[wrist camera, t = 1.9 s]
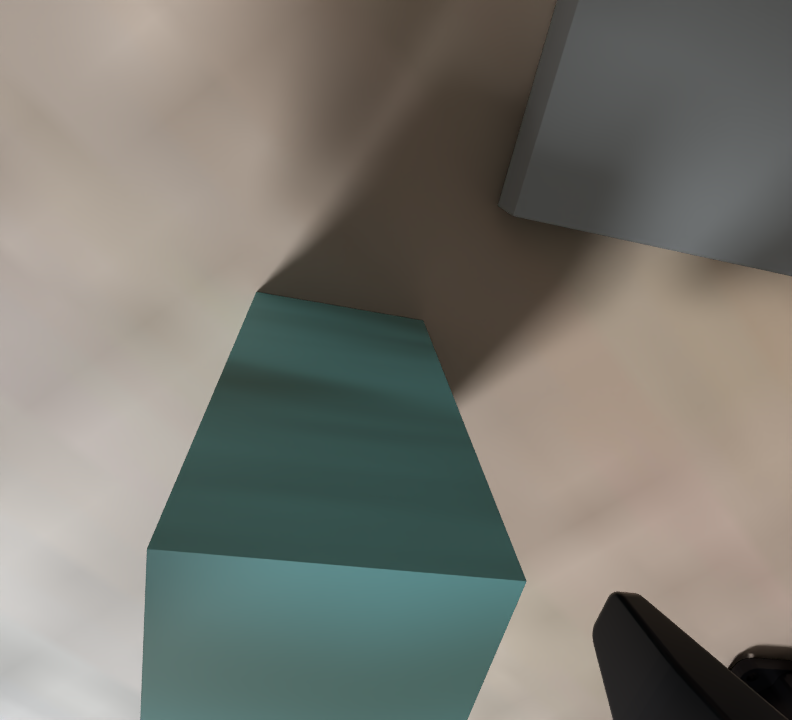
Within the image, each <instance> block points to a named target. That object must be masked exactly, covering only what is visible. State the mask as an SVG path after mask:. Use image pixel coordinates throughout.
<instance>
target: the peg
mask: <svg viewBox="0 0 792 720" xmlns="http://www.w3.org/2000/svg"><path fill="white" fill-rule="evenodd" d="M525 584H526V579H525V576H524V574H523V571H522V569H521V566H520V564H519V561H518V559H517V556H516V554H515V551H514V549H513V546H512V544H511V541H510V538H509V536H508V533H507V531H506V528H505V526H504V523H503V521H502V518H501V516H500V513H499V511H498V508H497V506H496V503H495V501H494V498H493V496H492V493H491V491H490V488H489V485H488V483H487V480H486V478H485V475H484V473H483V470H482V468H481V465H480V463H479V460H478V458H477V455H476V453H475V450H474V448H473V445H472V443H471V440H470V438H469V435H468V432H467V430H466V427H465V425H464V422H463V420H462V417H461V415H460V412H459V410H458V407H457V405H456V402H455V400H454V397H453V395H452V392H451V390H450V387H449V385H448V382H447V379H446V377H445V374H444V372H443V369H442V367H441V364H440V362H439V359H438V357H437V354H436V352H435V349H434V347H433V344H432V342H431V339H430V337H429V334H428V332H427V329H426V326H425V324H424V321H423V320H417V319H411V318H405V317H399V316H394V315H388V314H382V313H376V312H370V311H365V310H359V309H353V308H347V307H341V306H336V305H330V304H324V303H318V302H312V301H307V300H301V299H295V298H289V297H283V296H278V295H272V294H266V293H260V292H256V294H255V297H254V299H253V301H252V304H251V306H250V308H249V311H248V313H247V315H246V318H245V320H244V322H243V325H242V327H241V329H240V332H239V334H238V336H237V339H236V341H235V344H234V346H233V348H232V351H231V353H230V355H229V358H228V360H227V362H226V365H225V367H224V369H223V372H222V374H221V376H220V379H219V381H218V383H217V386H216V388H215V390H214V393H213V395H212V398H211V400H210V402H209V405H208V407H207V409H206V412H205V414H204V416H203V419H202V421H201V423H200V426H199V428H198V430H197V433H196V435H195V437H194V440H193V442H192V444H191V447H190V449H189V452H188V454H187V456H186V459H185V461H184V463H183V466H182V468H181V470H180V473H179V475H178V477H177V480H176V482H175V484H174V487H173V489H172V491H171V494H170V496H169V498H168V501H167V503H166V506H165V508H164V510H163V513H162V515H161V517H160V520H159V522H158V524H157V527H156V529H155V531H154V534H153V536H152V538H151V541H150V543H149V545H148V548H147V562H146V588H145V614H144V640H143V665H142V691H141V717H140V720H467V719H468V717H469V714H470V712H471V710H472V707H473V705H474V703H475V700H476V698H477V696H478V693H479V691H480V689H481V686H482V684H483V682H484V679H485V677H486V675H487V672H488V670H489V668H490V665H491V663H492V661H493V658H494V656H495V654H496V651H497V649H498V647H499V644H500V642H501V640H502V637H503V635H504V633H505V630H506V628H507V626H508V623H509V621H510V619H511V616H512V614H513V612H514V609H515V607H516V605H517V602H518V600H519V598H520V595H521V593H522V591H523V588H524V586H525Z"/></svg>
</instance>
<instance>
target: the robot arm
mask: <svg viewBox="0 0 792 720" xmlns="http://www.w3.org/2000/svg"><path fill="white" fill-rule="evenodd" d="M593 643H594V647H595V651H596V655H597V659H598V663H599V667H600V671H601V675H602V679H603V683H604V686H605V690H606V694H607V698H608V702H609V706H610V710H611V714H612V718H613V720H792V661H790V660H775V659H759V658H747V659H744V660H741V661H740V662H738V663H737V664H736V665H735V666H734V667H733V669H732V670H731V671H730V670H729V669H728V668H727V667H725V666H724V665H723V664H722V663H721V662H719V661H718V660H717V659H716V658H715V657H713V656H712V655H711V654H710V653H709V652H708V651H706V650H705V649H704V648H703V647H702V646H700V645H699V644H698V643H697V642H696V641H695V640H693V639H692V638H691V637H690V636H689V635H687V634H686V633H685V632H684V631H683V630H681V629H680V628H679V627H678V626H677V625H676V624H674V623H673V622H672V621H671V620H670V619H668V618H667V617H666V616H665V615H664V614H662V613H661V612H660V611H659V610H658V609H657V608H655V607H654V606H653V605H652V604H651V603H649V602H648V601H647V600H646V599H645V598H643V597H642V596H641V595H639V594H636V593H628V592H614V593H612V594H611V595H610V596H609V597H608V599H607V601H606V603H605V605H604V607H603V609H602V611H601V613H600V614H599V616H598V618H597V620H596V622H595V624H594V627H593Z"/></svg>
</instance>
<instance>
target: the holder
mask: <svg viewBox="0 0 792 720" xmlns="http://www.w3.org/2000/svg"><path fill="white" fill-rule="evenodd" d="M498 206H499V207H500V208H502V209H503V210H505V211H506V212H508V213H509V214H511V215H512V216H515V217H520V218H525V219H529V220H534V221H538V222H543V223H548V224H552V225H557V226H562V227H566V228H571V229H576V230H580V231H585V232H589V233H594V234H599V235H603V236H608V237H613V238H617V239H622V240H627V241H631V242H636V243H640V244H645V245H650V246H654V247H659V248H664V249H668V250H673V251H678V252H682V253H687V254H692V255H696V256H701V257H705V258H710V259H715V260H719V261H724V262H729V263H733V264H738V265H743V266H747V267H752V268H756V269H761V270H766V271H770V272H775V273H780V274H784V275H789V276H792V0H557V2H556V6H555V9H554V13H553V16H552V20H551V23H550V27H549V30H548V34H547V37H546V41H545V44H544V47H543V51H542V54H541V58H540V61H539V65H538V68H537V72H536V75H535V79H534V82H533V86H532V89H531V92H530V96H529V99H528V103H527V106H526V110H525V113H524V117H523V120H522V124H521V127H520V131H519V134H518V137H517V141H516V144H515V148H514V151H513V155H512V158H511V162H510V165H509V169H508V172H507V176H506V179H505V182H504V186H503V189H502V193H501V196H500V200H499V203H498Z"/></svg>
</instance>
